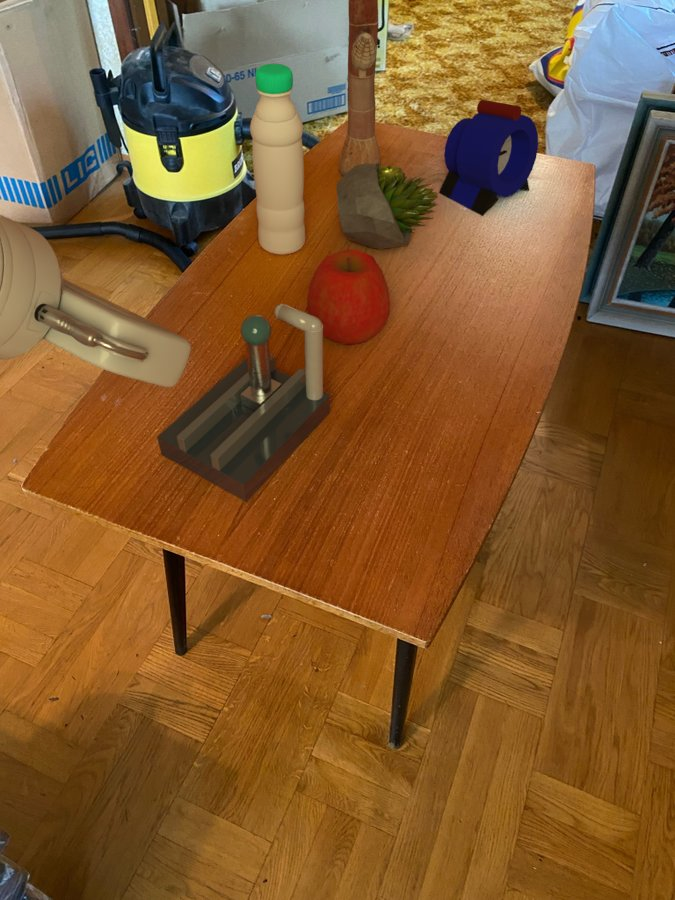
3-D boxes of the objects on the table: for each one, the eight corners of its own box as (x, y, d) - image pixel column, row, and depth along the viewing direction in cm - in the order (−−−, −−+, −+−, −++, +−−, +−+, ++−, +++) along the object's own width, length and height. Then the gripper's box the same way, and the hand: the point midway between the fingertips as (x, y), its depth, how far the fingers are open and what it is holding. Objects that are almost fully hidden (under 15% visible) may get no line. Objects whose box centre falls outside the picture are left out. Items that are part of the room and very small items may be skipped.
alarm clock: (485, 217, 114) (503, 123, 103) (429, 188, 120) (440, 95, 109) (533, 192, 119) (554, 100, 108) (477, 165, 125) (492, 75, 114)
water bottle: (308, 232, 110) (305, 59, 92) (302, 258, 106) (297, 81, 87) (263, 229, 111) (250, 56, 92) (255, 255, 106) (240, 78, 87)
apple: (327, 294, 100) (327, 225, 92) (400, 313, 97) (406, 244, 89) (294, 339, 93) (291, 269, 85) (372, 361, 90) (376, 291, 82)
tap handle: (240, 403, 81) (230, 322, 72) (261, 383, 83) (254, 302, 74) (262, 414, 80) (255, 333, 71) (283, 394, 82) (279, 313, 73)
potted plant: (346, 187, 113) (440, 169, 109) (353, 267, 112) (448, 251, 108) (324, 156, 101) (429, 134, 97) (331, 245, 101) (437, 226, 97)
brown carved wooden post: (346, 157, 127) (351, -42, 104) (386, 163, 126) (399, -37, 103) (329, 185, 120) (330, -21, 98) (371, 192, 119) (382, -15, 96)
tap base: (161, 454, 79) (136, 360, 69) (249, 374, 88) (239, 280, 78) (246, 502, 75) (233, 409, 65) (330, 413, 84) (330, 318, 74)
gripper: (128, 297, 41) (245, 340, 54) (-96, 190, 48) (55, 251, 61) (88, 398, 42) (212, 416, 54) (-127, 278, 49) (29, 320, 61)
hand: (128, 329), depth 58 cm, fingers closed
